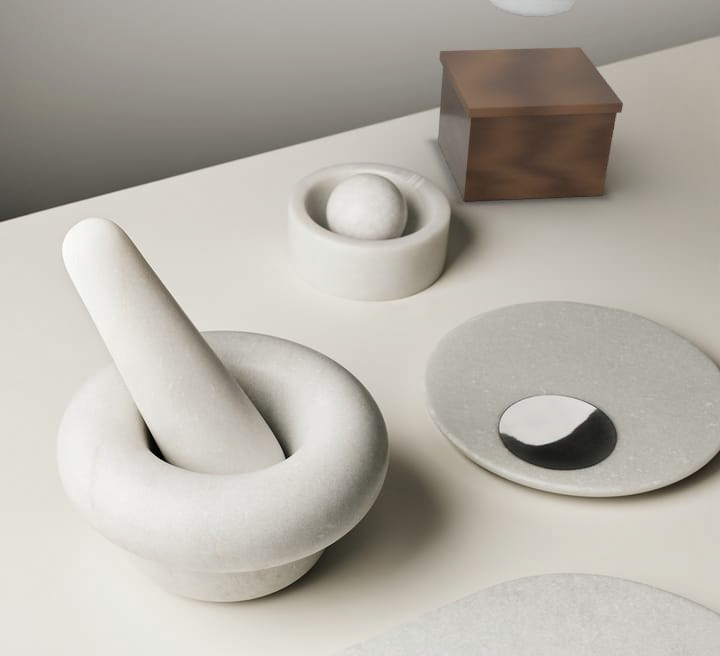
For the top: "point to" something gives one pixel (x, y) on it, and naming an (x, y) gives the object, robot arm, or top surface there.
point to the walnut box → (525, 123)
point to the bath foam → (533, 7)
